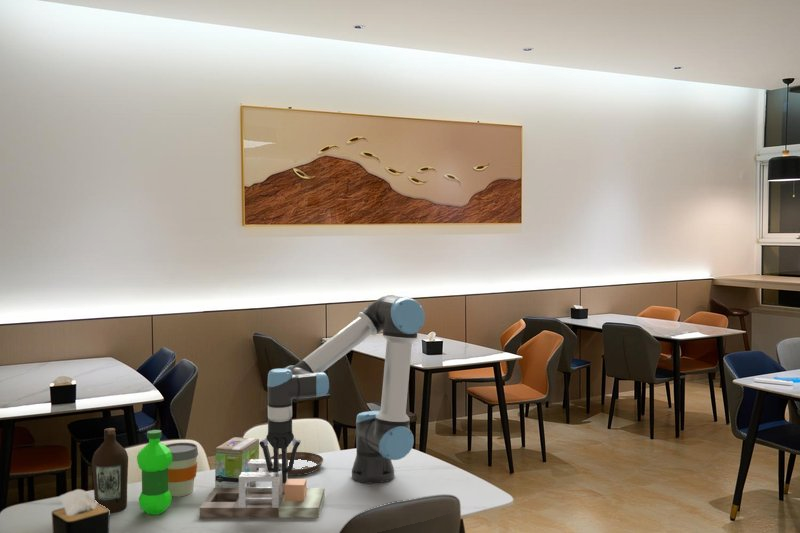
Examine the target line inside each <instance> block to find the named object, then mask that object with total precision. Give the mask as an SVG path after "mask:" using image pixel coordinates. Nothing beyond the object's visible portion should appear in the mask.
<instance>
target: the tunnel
mask: <svg viewBox="0 0 800 533" xmlns="http://www.w3.org/2000/svg"><path fill="white" fill-rule="evenodd" d="M271 461H272V464H273V467H274V459H271ZM287 467H288V461H287ZM248 468H250V472H242V473H241V474H240V476H239V508H246V506H247V504H272V508H279V506H280V504H281V498H280V478H281V472H271V471H270V472H269V471H259V472H257V468H259V469H268V468H267V464H266V460H265V458H264V459H263V458H259V459H250V461H249V462H248ZM279 468H280V471H282V459H279ZM288 476H289V475H288V472H287V479H289V478H288ZM247 482H250V486H249V487H247ZM258 482H259V483H261V482H267V483H270V482H271V486H258ZM283 486H284V492H283V493H285V483H283ZM247 488H248V493H272V498H247Z"/></svg>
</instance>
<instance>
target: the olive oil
mask: <svg viewBox="0 0 800 533" xmlns="http://www.w3.org/2000/svg"><path fill="white" fill-rule="evenodd" d="M103 432H104V433H103V442H102V443H101V444H100V446H99V447H98V448H97V449H96V450H95V451H94V453H93V456H92V459H91V468H92V478H93V482H92V483H93V495H94V496H93V497H94V501H95V500H96V501H97V502H98V503H99V504H101V505H103V506H105V507H106V508H108V509H109V510H110V513H109V514H112V513H118V512H121V511H123V510H125V509H126V508H127V506H128V478H129V477H128V476H129V472H128V471H129V454H128V451H127V450H126V449H125V448H124V447H123V446H122V445H121V444H120V443H119V442H118V441H117V439H116V435H117V434H116V428H114V427H109V428H105V429H104V431H103ZM120 510H121V511H120ZM117 511H118V512H117Z"/></svg>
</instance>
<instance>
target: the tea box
mask: <svg viewBox="0 0 800 533" xmlns="http://www.w3.org/2000/svg"><path fill="white" fill-rule="evenodd" d="M259 443H260V439H259V438H253V437H252V438H251V437H250V438H249V437H237V436H235V437H234V436H233V437H232V438H230V439H229V440H227V441H225V442H223V443H222V444H220V445H218V446H217V447H216V448H215V464H214V465H215V467H214V468H215V471H214V473H215V474H214V475H215V476H214V477H215V479H214V488H239V476H240V474H241V473H242V472H250V468H248V462H249V461H250V459H260V444H259ZM259 469H260V468H257V472H260V470H259ZM248 487H250V482H247V488H248Z"/></svg>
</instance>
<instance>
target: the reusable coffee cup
mask: <svg viewBox="0 0 800 533" xmlns="http://www.w3.org/2000/svg"><path fill="white" fill-rule="evenodd" d="M164 445H165V446H166V447H168V448H169V449H170V451H171V454H172V463H171V465H170V466H169V467H168V490H169V492H170V494H171V497H172V496H178V497H184V496H188V495H191V494H192V493H193V491H194V484H195V478H196V477H197V469H198V462H197V460H198V459H197V458H198V456H199V450H198V445H197V444H195V443H193V442H174V443H169V444H168V443H167V444H164Z"/></svg>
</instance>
